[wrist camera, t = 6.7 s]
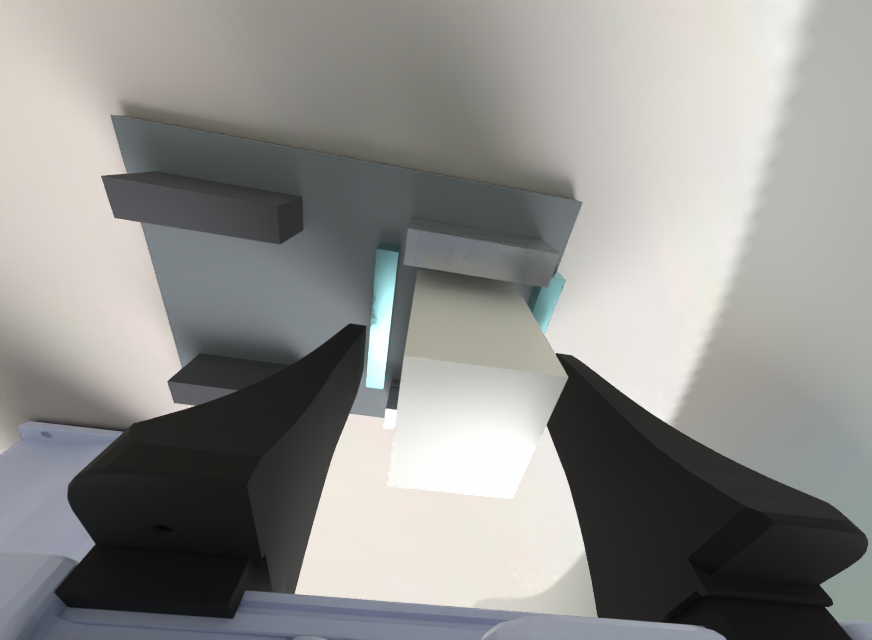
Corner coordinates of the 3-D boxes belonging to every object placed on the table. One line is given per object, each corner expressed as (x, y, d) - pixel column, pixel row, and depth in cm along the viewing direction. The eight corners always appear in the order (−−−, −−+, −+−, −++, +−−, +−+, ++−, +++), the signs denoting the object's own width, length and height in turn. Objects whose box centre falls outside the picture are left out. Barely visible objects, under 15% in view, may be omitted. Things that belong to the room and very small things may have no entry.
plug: (404, 366, 15) (386, 486, 10) (418, 268, 12) (403, 355, 7) (486, 377, 15) (512, 498, 10) (514, 282, 13) (568, 376, 8)
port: (367, 394, 16) (358, 425, 14) (382, 210, 11) (372, 222, 10) (505, 411, 16) (513, 443, 15) (569, 243, 12) (592, 259, 10)
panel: (197, 385, 16) (189, 393, 16) (126, 116, 11) (110, 114, 10) (494, 423, 18) (496, 431, 17) (575, 199, 12) (582, 202, 11)
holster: (204, 373, 15) (174, 402, 13) (155, 171, 11) (101, 175, 9) (309, 386, 16) (293, 416, 14) (302, 196, 11) (277, 206, 9)
